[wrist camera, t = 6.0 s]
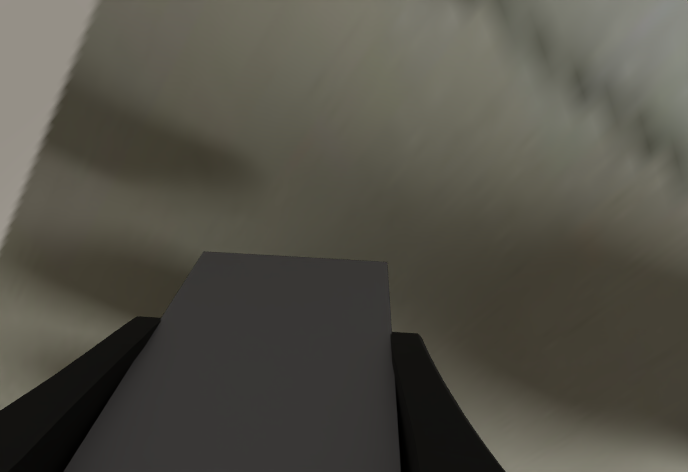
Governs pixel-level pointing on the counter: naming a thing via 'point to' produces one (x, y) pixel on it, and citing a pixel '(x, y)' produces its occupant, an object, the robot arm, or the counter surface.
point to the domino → (259, 374)
